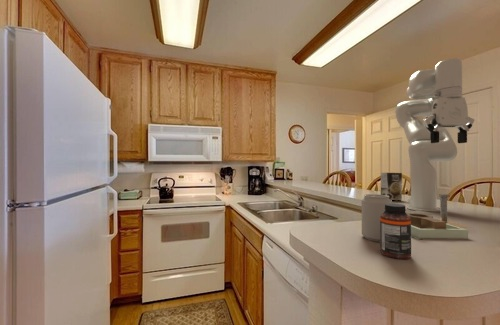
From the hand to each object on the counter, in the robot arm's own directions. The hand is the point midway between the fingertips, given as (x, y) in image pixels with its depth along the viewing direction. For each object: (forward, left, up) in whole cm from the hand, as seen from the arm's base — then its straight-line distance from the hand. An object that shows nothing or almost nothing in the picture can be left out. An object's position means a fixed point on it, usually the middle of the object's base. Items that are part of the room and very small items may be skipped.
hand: (448, 142), depth 86 cm
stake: (+4, -5, -28) cm, 29 cm away
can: (+20, -36, -28) cm, 50 cm away
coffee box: (-53, +10, -28) cm, 61 cm away
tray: (+13, -19, -28) cm, 36 cm away
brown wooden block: (+14, -18, -28) cm, 36 cm away
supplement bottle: (+32, -38, -28) cm, 57 cm away
